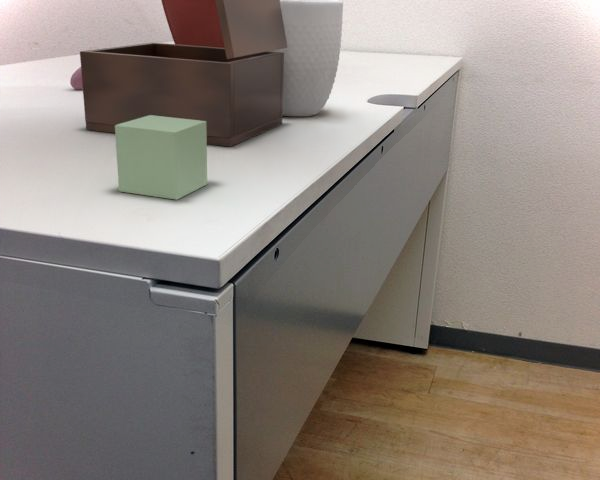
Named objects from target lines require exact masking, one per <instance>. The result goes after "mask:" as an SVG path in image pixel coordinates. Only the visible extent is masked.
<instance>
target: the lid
mask: <svg viewBox="0 0 600 480" xmlns="http://www.w3.org/2000/svg"><path fill="white" fill-rule="evenodd" d="M215 1H216V6H217V11H218V17H219V22H220V27H221V32H222V37H223V42H224V47H225V52H226V57H227V59H231V58H237V57H242V56H247V55H252V54H257V53H262V52H267V51H272V50H278V49H283V48H287V41H286V35H285V29H284V23H283V17H282V11H281V6H280V0H215Z"/></svg>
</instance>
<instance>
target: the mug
mask: <svg viewBox="0 0 600 480" xmlns="http://www.w3.org/2000/svg"><path fill="white" fill-rule="evenodd" d="M280 6H281V11H282V17H283V23H284V29H285V35H286V41H287V48H283V49H278V50H272V51H271V52H284V74H283V110H282V117H283V116H284V117H298V118H299V117H311V116H316V115H318V114H319V113H320V112H321V111H322V110H323V109H324V107H325V106H326V104H327V101H328V100H329V99H330V95H331V94H332V90H333V88H334V84H335V82H336V77H337V72H338V68H339V67H338V66H339V62H340V54H341V47H342V44H341V43H342V35H343V33H342V31H343V13H344V1H342V0H280Z"/></svg>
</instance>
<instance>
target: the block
mask: <svg viewBox="0 0 600 480" xmlns="http://www.w3.org/2000/svg"><path fill="white" fill-rule="evenodd" d="M114 134H115V151H116V166H117V179H118V181H117V182H118V192H121V193H127V194H134V195H142V196H149V197H155V198H162V199H169V200H176V201H178V200H180V199H181V198H183V197H185V196H187V195H190V194H191V193H193V192H195V191H197V190H199V189H200V188H203V187H205V186H207V185H208V144H207V131H206V121H200V120H191V119H182V118H172V117H163V116H154V115H149V116H145V117H142V118H138V119H135V120H131V121H128V122H124V123H121V124H117V125H115V133H114Z"/></svg>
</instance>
